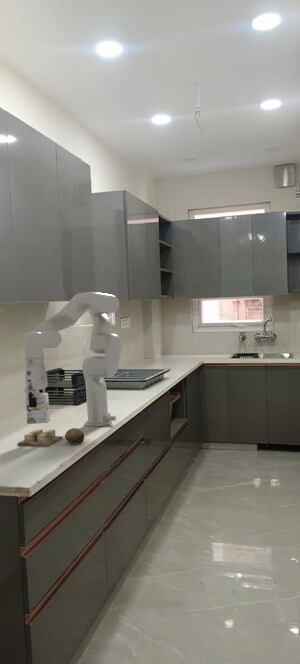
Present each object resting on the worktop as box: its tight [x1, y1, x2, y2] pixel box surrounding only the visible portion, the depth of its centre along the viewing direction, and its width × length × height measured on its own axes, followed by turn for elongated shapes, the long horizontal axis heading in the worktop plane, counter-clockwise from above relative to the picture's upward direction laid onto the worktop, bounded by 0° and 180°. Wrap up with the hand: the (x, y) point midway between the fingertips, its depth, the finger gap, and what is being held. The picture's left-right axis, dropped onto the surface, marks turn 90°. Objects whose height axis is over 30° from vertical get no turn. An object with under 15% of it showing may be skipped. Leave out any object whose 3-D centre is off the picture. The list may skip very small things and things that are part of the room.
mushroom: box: [64, 427, 85, 445], centre depth 204 cm, size 8×8×6 cm
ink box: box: [25, 392, 51, 425], centre depth 209 cm, size 8×5×12 cm, turn 89°
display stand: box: [17, 428, 63, 448], centre depth 209 cm, size 12×14×4 cm
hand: (37, 405), depth 209 cm, fingers closed on ink box, 6 cm apart
